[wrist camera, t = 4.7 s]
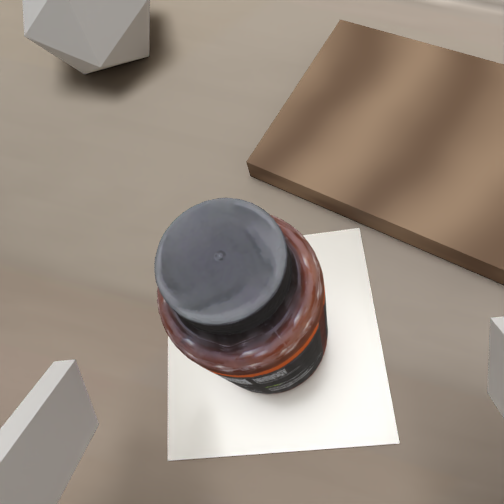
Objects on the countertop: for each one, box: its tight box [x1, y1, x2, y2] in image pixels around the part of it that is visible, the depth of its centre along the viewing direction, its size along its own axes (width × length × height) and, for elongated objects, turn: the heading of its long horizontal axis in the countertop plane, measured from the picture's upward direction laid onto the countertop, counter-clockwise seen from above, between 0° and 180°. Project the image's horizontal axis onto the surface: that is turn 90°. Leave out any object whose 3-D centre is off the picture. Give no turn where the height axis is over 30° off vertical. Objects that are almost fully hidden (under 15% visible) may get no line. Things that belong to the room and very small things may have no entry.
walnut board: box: [247, 20, 504, 285], centre depth 25 cm, size 16×12×2 cm
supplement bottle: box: [155, 198, 328, 394], centre depth 18 cm, size 6×6×11 cm
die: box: [23, 0, 150, 74], centre depth 30 cm, size 8×9×10 cm
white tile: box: [168, 228, 399, 461], centre depth 23 cm, size 11×11×1 cm
